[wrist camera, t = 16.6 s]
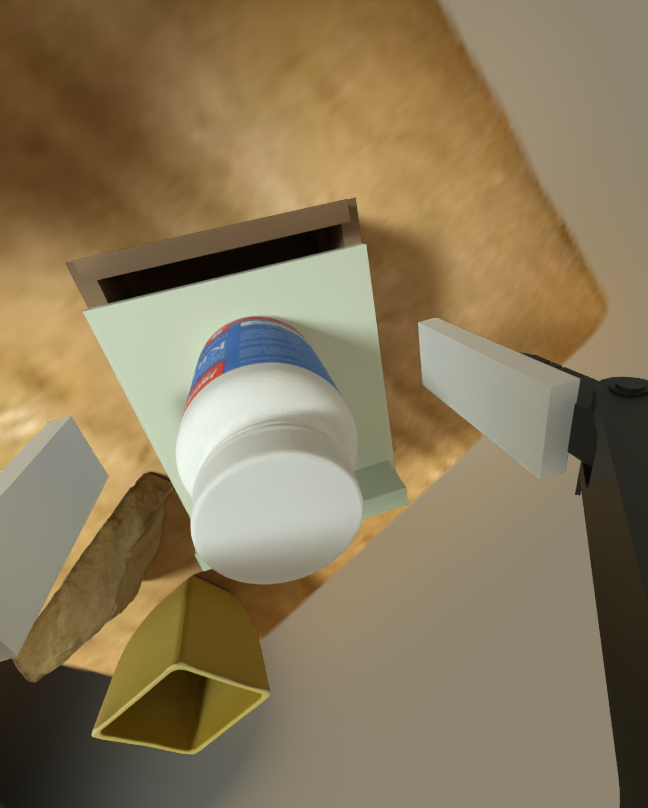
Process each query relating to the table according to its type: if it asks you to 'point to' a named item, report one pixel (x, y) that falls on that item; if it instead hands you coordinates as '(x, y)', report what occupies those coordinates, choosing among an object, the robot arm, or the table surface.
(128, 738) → the flower pot
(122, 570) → the rock
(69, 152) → the table surface
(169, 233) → the table surface
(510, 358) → the robot arm
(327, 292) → the lid
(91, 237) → the table surface
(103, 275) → the box
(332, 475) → the pill bottle
